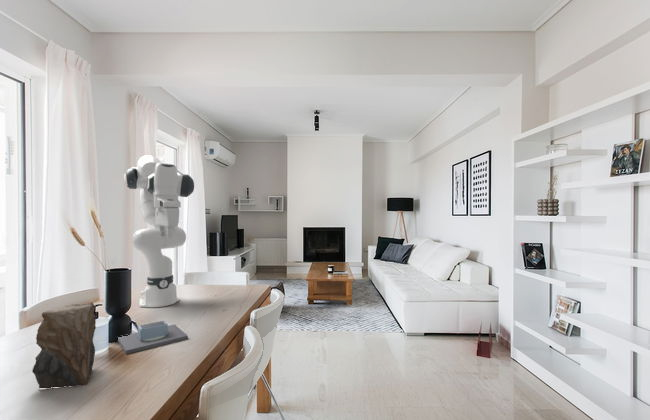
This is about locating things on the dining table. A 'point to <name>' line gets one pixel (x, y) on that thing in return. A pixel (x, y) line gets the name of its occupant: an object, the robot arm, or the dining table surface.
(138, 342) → the charging mat
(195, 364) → the dining table surface
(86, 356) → the brown rock
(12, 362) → the dining table surface
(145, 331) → the phone
